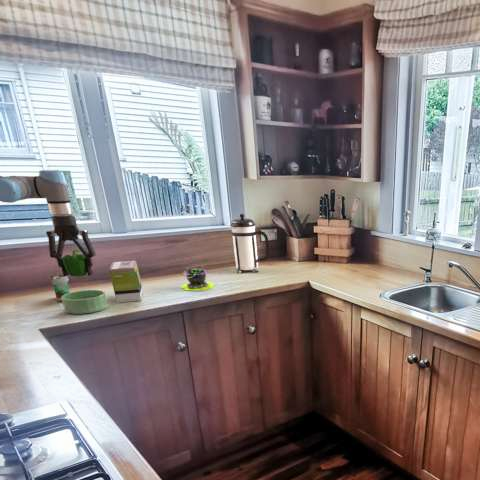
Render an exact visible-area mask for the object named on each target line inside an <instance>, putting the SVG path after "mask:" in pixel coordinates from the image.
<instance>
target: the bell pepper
mask: <svg viewBox="0 0 480 480" xmlns="http://www.w3.org/2000/svg"><path fill="white" fill-rule="evenodd" d="M77 252H78V253H77ZM79 252H81V251H80V249H79V248H76V249H75V248H74V249H73V250H72V255H71V254H65V255H64V256H62V258H63V259H62V261H63V264H64V266H65V268H66V270H67V272H68V274H69V275H68V276H70V277H77V278H78V277H84V276H86V275H88V273H87V269H86V265H85V261H84V259H85V258H86V257H85V256H84V255H83V253H80V254H79Z"/></svg>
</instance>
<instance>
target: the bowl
mask: <svg viewBox="0 0 480 480" xmlns="http://www.w3.org/2000/svg"><path fill="white" fill-rule="evenodd" d="M61 300H62V302H61V303H62V307H63V310H64V312H65V313H68V314H74V315H84V314H86V315H87V314H92V313H96V312H100V311H103V310H105V309H107V308H108V307H109V302H108V299H107V294H106V292H105V291H104V290H101V289H83V290H77V291H76V290H75V291H73V292H72V291H71V292H69V293H68V294H65V295H63V296H62V297H61Z"/></svg>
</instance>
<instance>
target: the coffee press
mask: <svg viewBox="0 0 480 480" xmlns="http://www.w3.org/2000/svg"><path fill="white" fill-rule="evenodd" d="M227 230H228V231H231V236H232V243H233V253H234V261H235V267H236V269H237V270H236V273H237V274H241V273H242V272H243V271H254V272H255V273H259V271H260V270H259V262H266V261H267V260H268V259H269V258H270V243H269V237H268V235H267V233H266V232H264V231H262V230H256V223H255V221H254V220H253V219H251V218H246V217H245V214H244V213H240V214H239V218H235V219H233V220H231V222H230V226H229V227H228V228H227ZM256 235H261V236H263V237H264V243H265V255H264V257H258V248H257V237H256Z"/></svg>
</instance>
